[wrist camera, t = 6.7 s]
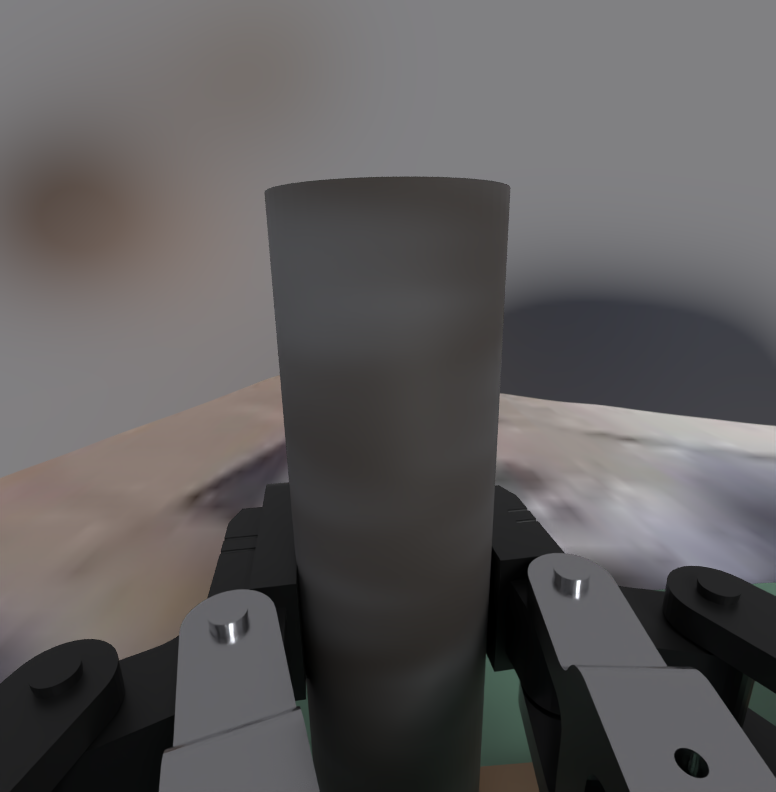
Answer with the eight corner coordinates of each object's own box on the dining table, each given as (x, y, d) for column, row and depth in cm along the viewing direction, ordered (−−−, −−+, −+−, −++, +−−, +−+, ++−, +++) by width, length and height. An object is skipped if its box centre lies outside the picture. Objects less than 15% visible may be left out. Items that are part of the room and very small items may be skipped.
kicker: (313, 1046, 8) (216, 164, 4) (328, 745, 13) (289, 208, 9) (1133, 951, 9) (1684, 152, 5) (858, 702, 14) (1032, 197, 10)
